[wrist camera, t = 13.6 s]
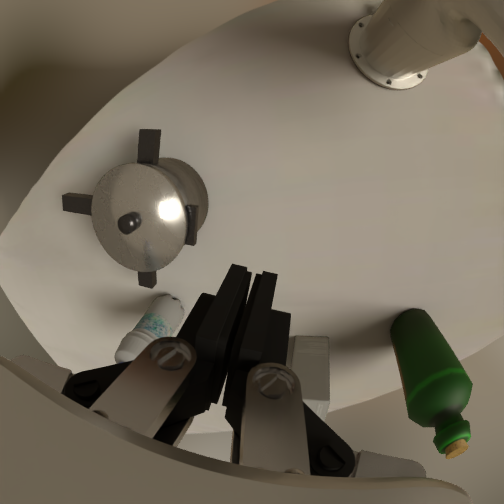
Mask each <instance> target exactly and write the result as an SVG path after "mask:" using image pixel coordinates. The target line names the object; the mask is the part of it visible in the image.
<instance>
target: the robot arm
mask: <svg viewBox="0 0 504 504" xmlns="http://www.w3.org/2000/svg"><path fill="white" fill-rule="evenodd" d="M359 26H361V27H359ZM482 32H483V33H484V34H485V35H486V37H487V38H488V39H489V40H491V42H492V43H493V44H494V45H495V46H496V48H497V49H498V50H499V51H500V53H501V54H502V55H503V57H504V0H383V2H382V3H381V5H380V6H379V8H378V9H377V11H376V12H375V14H374V15H368V16H366V17H363V18H361V19H360V20H358V21H357V22H356V23H355V25H354V26H353V27H352V29H351V32H350V34H349V40H348V45H349V51H350V54H351V57H352V59H353V61H354V63H355V64H356V66H357V67H358V68H359V70H360V71H361V72H362V73H363V74H364V75H365V76H366V77H367V78H369V79H370V80H371V81H373V82H374V83H376V84H378V85H380V86H382V87H385V88H388V89H393V90H406V89H410V88H413V87H415V86H417V85H419V84H420V83H421V82H422V81H423V80H424V79H425V77H426V75H427V74H428V70H429V68H431V67H433V66H436V65H438V64H440V63H443V62H445V61H447V60H450V59H452V58H455V57H457V56H459V55H462V54H464V53H467V52H468V51H470V50H471V49H473V48H474V47H475V45H476V44H477V42H478V41H479V39H480V36H481V33H482ZM356 56H358V57H359V59H358V58H356ZM417 76H418V77H419V78H418V77H417ZM386 82H388V84H387V83H386ZM251 275H252V272H248V271H247V267H244V266H240V265H235V264H232V265H231V267H230V269H229V271H228V273H227V275H226V277H225V279H224V281H223V283H222V285H221V287H220V289H219V291H218V292H217V294H216V296H215V295H211V294H207V293H202V294H201V295H200V297H199V299H198V300H197V302H196V304H195V305H194V307H193V309H192V310H191V312H190V314H189V316H188V317H187V319H186V321H185V322H184V324H183V326H182V328H181V329H180V331H179V333H178V335H177V336H176V337H161V338H158V339H156V340H153V341H152V342H151V343H150V344H148V345H147V346H146V348H145V349H144V350H143V351H142V352H141V353H140V354H139V355H138V356H137V357H136V358H135V359H134V360H131V361H127V362H123V363H119V364H115V365H110V366H106V367H101V368H97V369H92V370H87V371H83V372H80V373H77V374H73V373H72V371H71V370H69V369H66V368H62V367H59V366H56V365H52V364H50V363H47V362H44V361H41V360H38V359H35V358H32V357H30V356H25V355H20V356H17V357H15V358H13V359H12V360H11V361H10V360H8V359H6V358H5V357H3V356H1V355H0V504H473V502H472V500H471V498H470V496H469V495H468V493H467V492H466V491H465V490H464V489H462V488H461V487H459V486H457V485H454V484H452V483H449V482H445V481H442V480H437V479H432V478H426V471H425V469H424V468H423V466H422V465H421V464H420V463H418V462H416V461H413V460H408V459H403V458H397V457H392V456H387V455H382V454H377V453H373V452H369V451H364V450H361V451H360V452H356V451H353V450H352V449H351V448H350V447H349V445H348V444H347V443H346V442H344V440H342V439H341V438H340V437H339V436H338V435H337V434H336V433H335V432H334V431H333V430H332V429H331V428H330V427H329V426H328V425H327V424H326V423H325V422H324V421H323V420H322V419H321V418H320V417H318V416H317V415H316V414H315V413H314V412H313V411H312V410H311V409H310V408H309V407H308V406H307V405H306V404H305V403H304V402H303V399H302V391H301V384H300V381H299V378H298V376H297V375H296V374H295V372H293V371H292V370H291V369H290V368H288V367H286V358H287V349H288V340H289V330H290V320H291V313H286V312H282V311H277V310H273V309H271V307H272V302H273V297H274V291H275V286H276V281H277V276H278V274H274V273H270V272H266V271H263V273H262V275H261V274H257V273H256V276H255V279H254V282H253V285H252V288H251V291H250V294H249V298H248V301H247V296H248V291H249V286H250V281H251ZM246 301H247V304H246ZM227 373H228V374H227ZM226 376H227V380H226V385H225V391H224V397H223V402H222V406H226V407H227V409H226V414H225V419H226V420H227V421H228V423H229V424H230V425H231V427H232V428H233V432H232V443H231V457H230V462H225V461H221V460H217V459H213V458H210V457H206V456H202V455H199V454H196V453H192V452H189V451H186V450H183V449H180V448H177V446H178V444H179V443H180V441H181V439H182V438H183V436H184V435H185V433H186V431H187V430H188V428H189V426H190V425H191V423H192V422H193V419H194V416H196V415H198V414H201V413H204V412H205V410H208V411H209V408H210V405H211V403H215V404H217V403H218V400H219V397H220V394H221V391H222V388H223V385H224V382H225V379H226Z"/></svg>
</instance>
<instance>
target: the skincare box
mask: <svg viewBox="0 0 504 504" xmlns="http://www.w3.org/2000/svg"><path fill="white" fill-rule="evenodd" d="M291 370H292V371H293V372H295V374H296V375H297V376H298V378H299V381H300V384H301V391H302V399H303V402H304V403H305V404H306V405H307V406H308V407H309V408H310V409H311V410H312V411H313V412H314V413H315V414H316V415H317V416H318V417H320V418H321V419H322V420H323V421H325V418H326V415H327V412H328V408H329V404H330V371H329V338H328V337H312V336H295V342H294V350H293V356H292V362H291Z"/></svg>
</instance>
